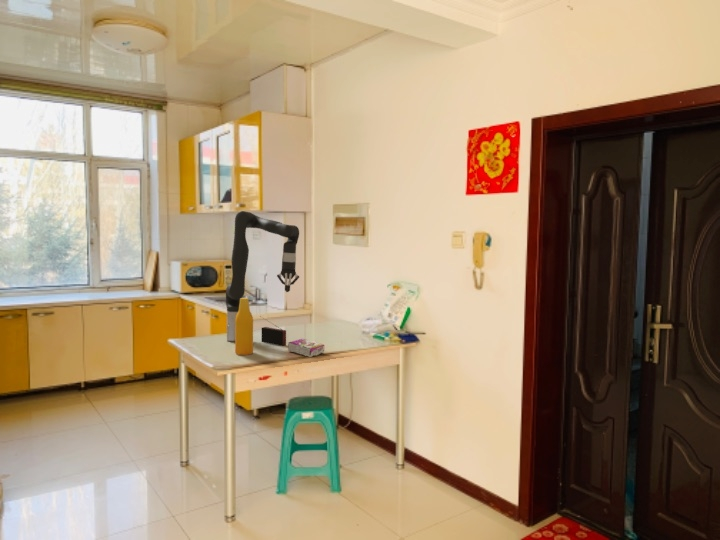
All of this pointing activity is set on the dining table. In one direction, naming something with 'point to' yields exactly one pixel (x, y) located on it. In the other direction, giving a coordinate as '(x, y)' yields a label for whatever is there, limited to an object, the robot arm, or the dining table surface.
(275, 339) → the radio
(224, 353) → the dining table surface
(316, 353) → the candy bar box
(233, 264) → the robot arm
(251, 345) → the beer bottle
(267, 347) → the dining table surface
